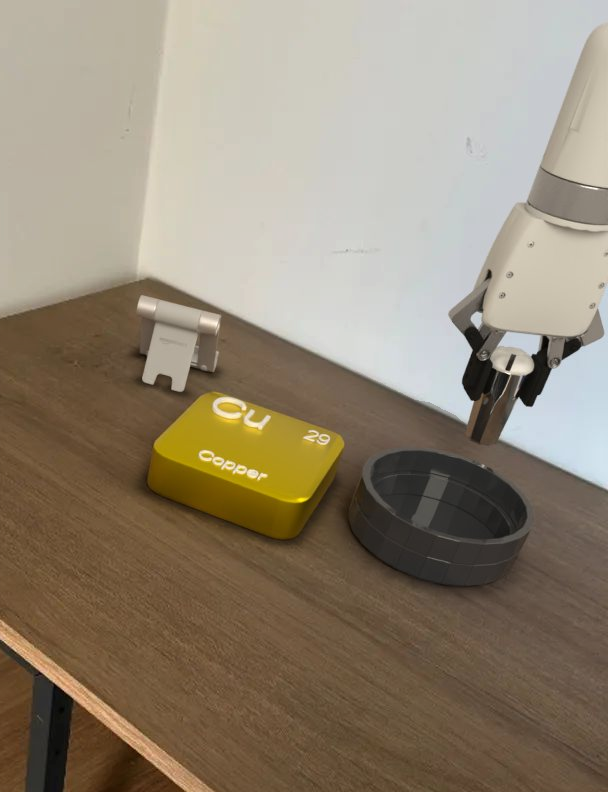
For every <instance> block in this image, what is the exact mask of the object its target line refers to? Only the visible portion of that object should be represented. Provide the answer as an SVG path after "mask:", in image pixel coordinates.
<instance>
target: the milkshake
mask: <svg viewBox="0 0 608 792" xmlns="http://www.w3.org/2000/svg"><path fill="white" fill-rule="evenodd" d="M531 356H532V355H530V354H529V353H527V352H526V351H525V350H524V349H522V348H519V347H513V346H504V345H498V346H497V347H496V349H495V350H494V352H493V353H492V355H491V357H490V360H491V361H492V363H493V366H492V369H491V372H490V374H489V377H488V379H487V382H486V385H485V387H484V390H483V392H482V395H481V398H480V400H478V401H473V404H472V407H471V410H470V414H469V418H468V421H467V424H466V427H465V431H464V436H465V438H466V439H467V440H468V441H470V442H472V443H474V444H477V445H481V446H492V445H496V444H497V443H498V441H499V438H500V437H501V434H502V432H503V431H504V429H505V427H506V424H507V422H508V421H509V418H510V415H511V414H512V412H513V411H514V408H515V406H516V404H517V402H518V400H519V399H520V398H519V396H520V394H521V392H522V390H523V388H524V387H525V385H526V383H527V381H528V379H529V377H530V375H531V373H532V371H533V369H534V362H533V360H532V358H531Z"/></svg>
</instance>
